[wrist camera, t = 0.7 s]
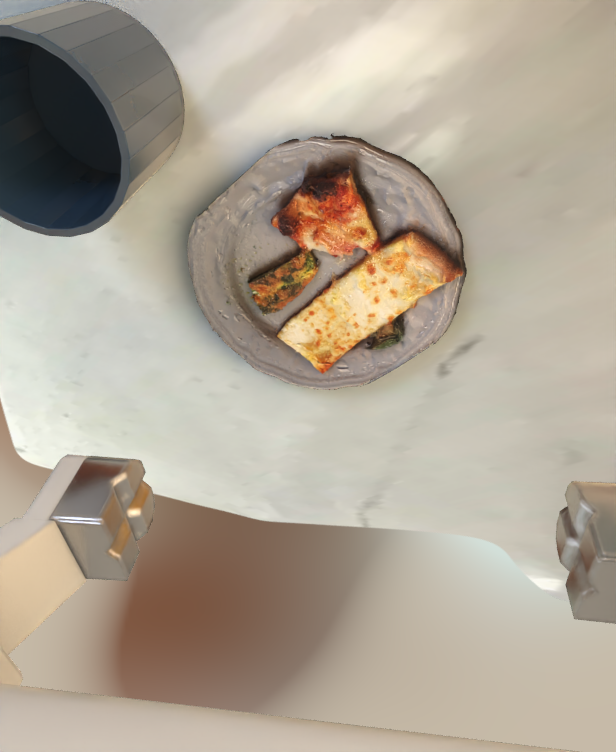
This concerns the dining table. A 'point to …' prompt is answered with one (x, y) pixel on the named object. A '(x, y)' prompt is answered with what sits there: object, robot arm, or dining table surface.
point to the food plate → (328, 263)
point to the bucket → (81, 115)
